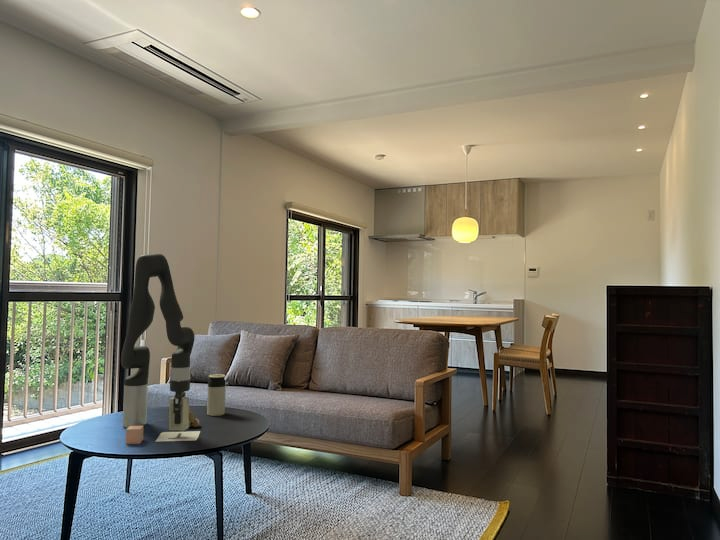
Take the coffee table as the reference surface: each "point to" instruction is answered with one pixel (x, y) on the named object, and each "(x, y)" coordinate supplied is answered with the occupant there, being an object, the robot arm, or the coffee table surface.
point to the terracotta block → (134, 434)
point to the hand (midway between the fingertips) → (178, 421)
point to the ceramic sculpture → (193, 420)
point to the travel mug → (216, 395)
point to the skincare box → (184, 415)
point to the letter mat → (178, 436)
